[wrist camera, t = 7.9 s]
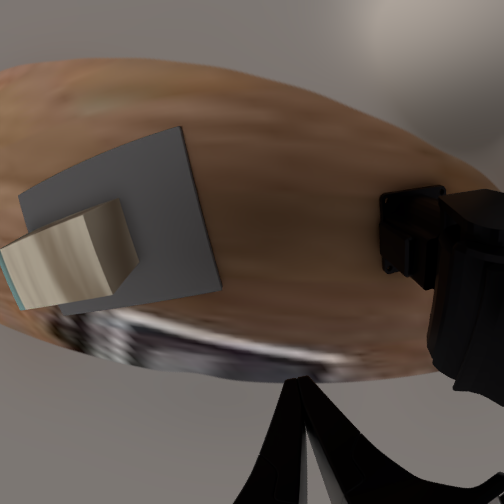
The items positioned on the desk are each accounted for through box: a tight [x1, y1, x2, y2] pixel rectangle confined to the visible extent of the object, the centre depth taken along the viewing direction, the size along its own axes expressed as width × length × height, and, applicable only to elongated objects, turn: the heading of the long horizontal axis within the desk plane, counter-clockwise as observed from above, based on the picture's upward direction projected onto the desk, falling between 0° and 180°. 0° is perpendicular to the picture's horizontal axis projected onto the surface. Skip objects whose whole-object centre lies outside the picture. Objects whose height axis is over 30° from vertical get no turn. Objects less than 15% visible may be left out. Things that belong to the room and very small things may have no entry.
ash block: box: [0, 198, 139, 310], centre depth 16 cm, size 5×5×10 cm
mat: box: [18, 126, 222, 316], centre depth 19 cm, size 16×12×1 cm
